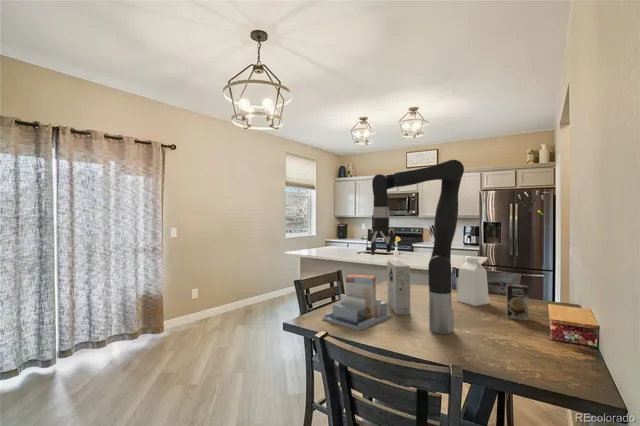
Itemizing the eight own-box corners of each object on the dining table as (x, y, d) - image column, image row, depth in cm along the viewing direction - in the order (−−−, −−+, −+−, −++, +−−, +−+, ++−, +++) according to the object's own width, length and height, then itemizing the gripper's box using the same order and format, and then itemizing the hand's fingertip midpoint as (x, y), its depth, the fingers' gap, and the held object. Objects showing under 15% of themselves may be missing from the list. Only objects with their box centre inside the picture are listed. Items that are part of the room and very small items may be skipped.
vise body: (390, 317, 159) (390, 299, 159) (358, 330, 140) (358, 310, 140) (355, 308, 174) (355, 292, 174) (322, 319, 156) (322, 301, 156)
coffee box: (507, 318, 156) (506, 285, 156) (506, 314, 162) (505, 283, 162) (529, 321, 152) (528, 287, 152) (527, 317, 157) (527, 284, 157)
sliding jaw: (369, 323, 149) (369, 300, 149) (360, 327, 144) (360, 303, 144) (339, 314, 162) (338, 293, 162) (329, 318, 157) (329, 295, 157)
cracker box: (376, 317, 158) (376, 275, 159) (373, 321, 153) (372, 277, 153) (350, 314, 164) (349, 273, 165) (345, 317, 159) (345, 275, 159)
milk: (457, 300, 188) (456, 257, 189) (471, 298, 193) (470, 256, 194) (474, 306, 178) (474, 259, 178) (488, 303, 182) (488, 258, 183)
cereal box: (410, 314, 163) (410, 266, 163) (395, 314, 163) (395, 266, 163) (400, 303, 184) (400, 260, 185) (387, 303, 185) (387, 260, 185)
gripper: (398, 216, 148) (398, 251, 148) (373, 216, 158) (373, 249, 158) (389, 216, 142) (389, 253, 142) (364, 216, 152) (364, 250, 152)
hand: (381, 251), depth 150 cm, fingers open, 7 cm apart
